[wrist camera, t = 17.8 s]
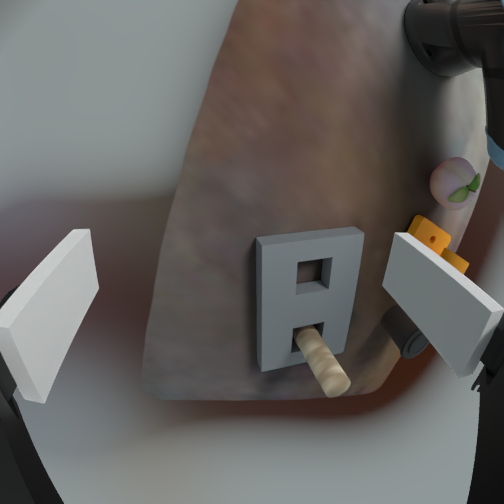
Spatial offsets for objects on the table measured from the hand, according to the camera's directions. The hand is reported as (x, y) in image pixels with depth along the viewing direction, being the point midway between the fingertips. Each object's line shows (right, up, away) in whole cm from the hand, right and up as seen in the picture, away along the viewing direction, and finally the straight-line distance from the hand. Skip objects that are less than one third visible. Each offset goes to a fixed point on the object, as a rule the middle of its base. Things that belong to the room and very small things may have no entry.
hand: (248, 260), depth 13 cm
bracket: (+32, +3, +41) cm, 52 cm away
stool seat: (+9, -7, +39) cm, 41 cm away
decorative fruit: (+32, +14, +36) cm, 50 cm away
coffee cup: (+29, -13, +48) cm, 57 cm away
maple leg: (+9, -13, +42) cm, 44 cm away
